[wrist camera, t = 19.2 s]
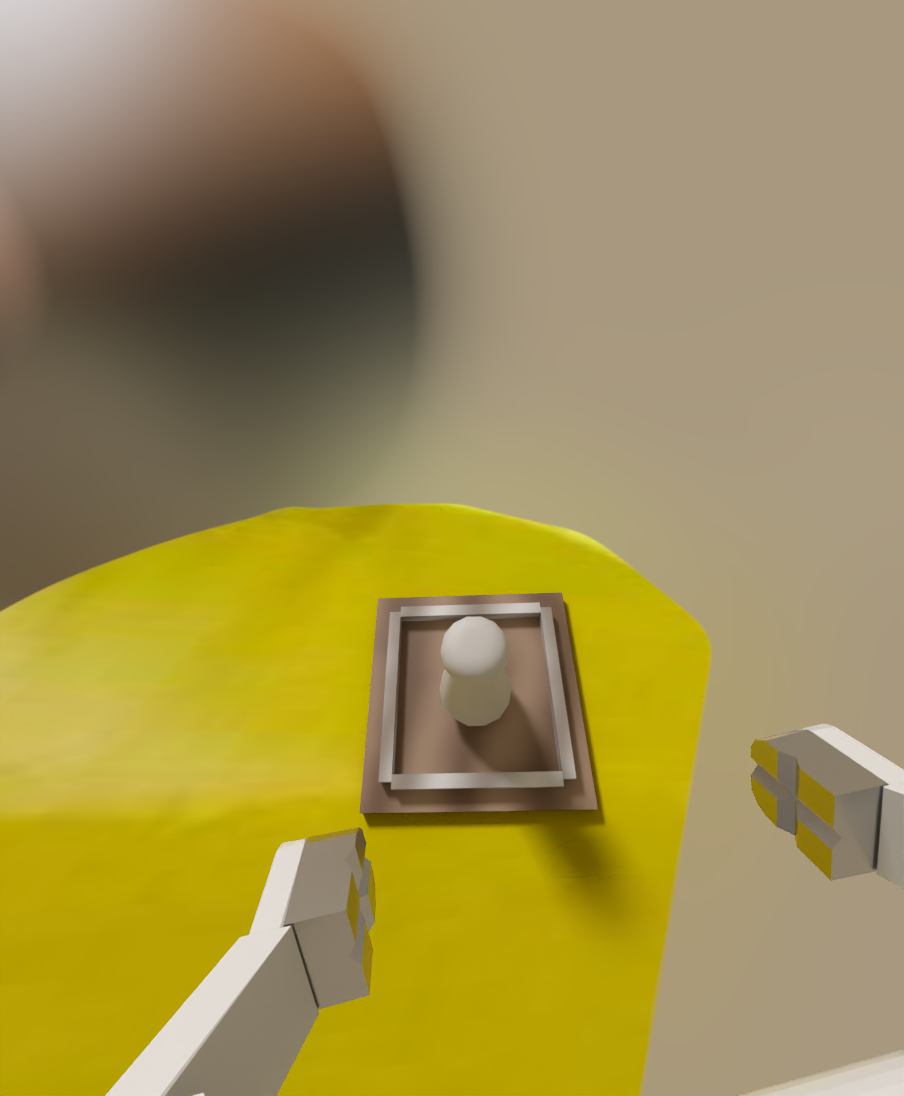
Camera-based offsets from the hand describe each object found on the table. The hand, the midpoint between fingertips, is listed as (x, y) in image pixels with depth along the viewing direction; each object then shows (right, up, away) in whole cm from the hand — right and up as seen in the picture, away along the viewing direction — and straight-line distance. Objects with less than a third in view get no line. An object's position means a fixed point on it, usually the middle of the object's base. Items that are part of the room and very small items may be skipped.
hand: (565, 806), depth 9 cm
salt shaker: (0, -8, +28) cm, 29 cm away
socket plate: (0, -8, +29) cm, 30 cm away
